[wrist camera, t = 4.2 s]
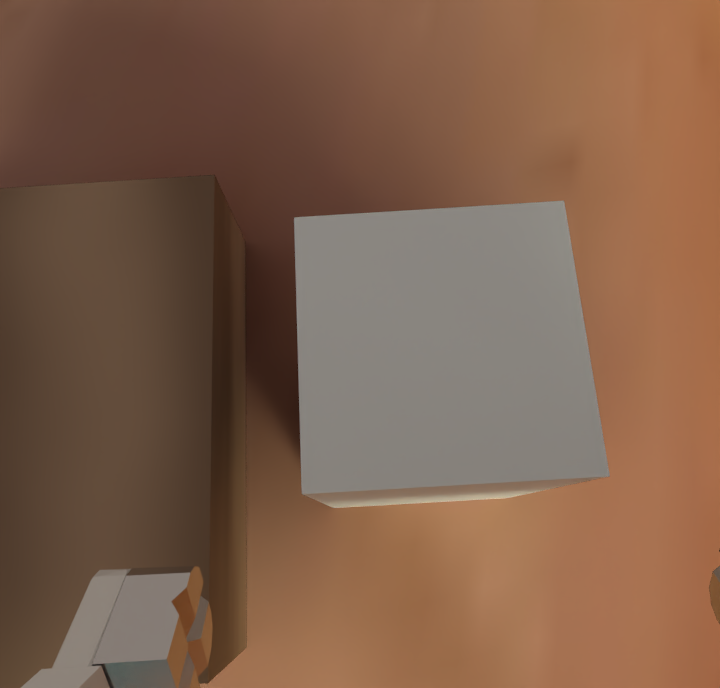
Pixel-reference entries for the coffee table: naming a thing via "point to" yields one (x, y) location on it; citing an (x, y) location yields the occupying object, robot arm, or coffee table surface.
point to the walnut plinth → (119, 403)
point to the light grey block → (442, 356)
